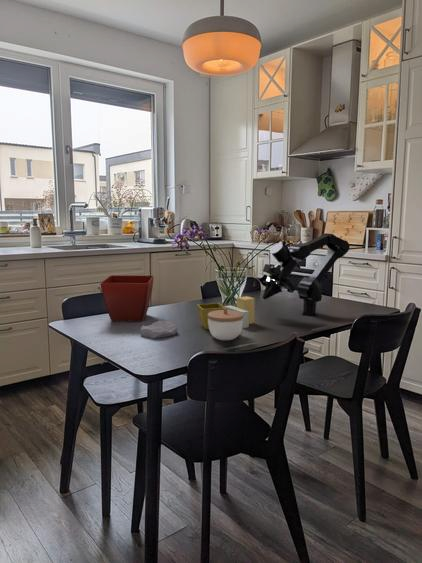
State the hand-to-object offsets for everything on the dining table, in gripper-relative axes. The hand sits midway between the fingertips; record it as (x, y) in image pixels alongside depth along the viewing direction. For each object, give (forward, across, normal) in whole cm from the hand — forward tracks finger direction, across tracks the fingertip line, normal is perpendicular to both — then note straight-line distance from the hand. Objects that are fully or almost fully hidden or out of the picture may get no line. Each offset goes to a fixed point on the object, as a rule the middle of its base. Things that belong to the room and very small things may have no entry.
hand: (263, 298), depth 178 cm
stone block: (+38, -6, -24) cm, 45 cm away
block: (+13, 0, -1) cm, 14 cm away
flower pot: (+24, -3, -10) cm, 26 cm away
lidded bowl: (+26, +11, -12) cm, 30 cm away
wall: (+16, 0, -3) cm, 16 cm away
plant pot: (+38, -35, -24) cm, 57 cm away
